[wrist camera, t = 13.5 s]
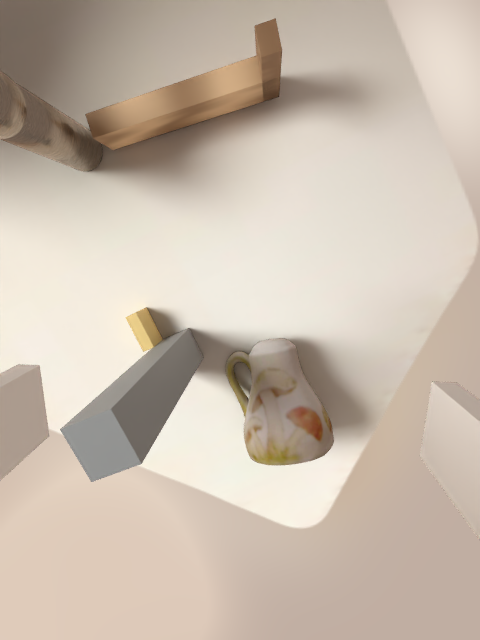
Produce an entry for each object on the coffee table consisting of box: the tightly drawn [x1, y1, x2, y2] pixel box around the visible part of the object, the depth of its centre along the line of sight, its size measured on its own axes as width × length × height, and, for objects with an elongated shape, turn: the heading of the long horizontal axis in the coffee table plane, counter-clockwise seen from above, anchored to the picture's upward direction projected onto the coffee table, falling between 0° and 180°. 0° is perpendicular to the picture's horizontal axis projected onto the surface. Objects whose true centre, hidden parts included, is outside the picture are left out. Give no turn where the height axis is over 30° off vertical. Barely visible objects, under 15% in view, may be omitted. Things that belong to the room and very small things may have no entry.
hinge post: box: [0, 71, 103, 171], centre depth 22 cm, size 3×3×11 cm
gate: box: [86, 18, 282, 150], centre depth 22 cm, size 14×2×6 cm, turn 105°
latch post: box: [60, 307, 204, 482], centre depth 23 cm, size 6×4×15 cm, turn 25°
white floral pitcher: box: [226, 338, 334, 465], centre depth 27 cm, size 8×10×10 cm
